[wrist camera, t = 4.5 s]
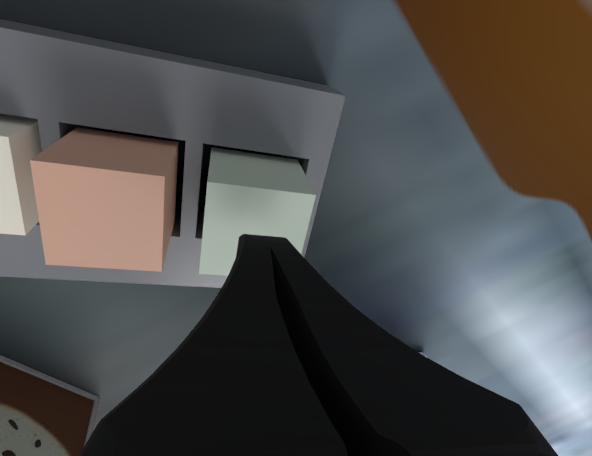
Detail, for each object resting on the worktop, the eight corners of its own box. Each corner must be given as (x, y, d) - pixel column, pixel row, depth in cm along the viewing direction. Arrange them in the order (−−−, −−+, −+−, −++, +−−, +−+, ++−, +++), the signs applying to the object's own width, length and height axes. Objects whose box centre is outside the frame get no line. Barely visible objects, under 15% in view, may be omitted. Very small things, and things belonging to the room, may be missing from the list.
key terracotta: (178, 142, 13) (164, 176, 10) (174, 221, 15) (161, 271, 12) (76, 127, 12) (29, 160, 9) (84, 213, 14) (45, 264, 11)
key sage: (297, 159, 14) (315, 195, 11) (282, 231, 16) (295, 279, 13) (211, 147, 14) (207, 181, 11) (204, 224, 15) (198, 273, 12)
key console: (328, 85, 15) (345, 95, 13) (287, 261, 19) (295, 291, 17) (-110, -4, 11) (-189, -10, 9) (-43, 237, 15) (-86, 272, 13)
